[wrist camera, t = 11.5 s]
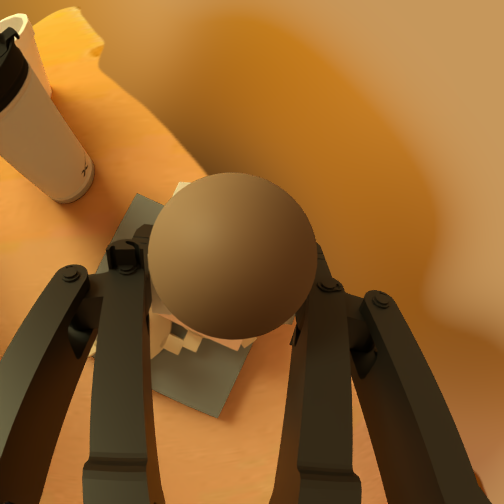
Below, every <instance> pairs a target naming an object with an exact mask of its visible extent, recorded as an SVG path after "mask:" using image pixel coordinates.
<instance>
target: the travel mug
mask: <svg viewBox="0 0 504 504" xmlns="http://www.w3.org/2000/svg"><path fill="white" fill-rule="evenodd" d="M14 36H15V37H16V38H17V39H20V35H19V34H18V33H17V32H16V31H15V30H14V29H13V28H11V27H8V28H7V29H5V30H4V31H3V32H2V33H0V156H1V157H3V158H4V159H5V160H6V161H7V162H8V163H9V164H11V165H12V166H13V167H14V168H15V169H16V170H18V171H19V172H20V173H21V174H22V175H23V176H25V177H26V178H27V179H28V180H29V181H31V182H32V183H33V184H34V185H35V186H37V187H38V188H39V189H40V190H42V191H43V192H44V193H45V194H47V195H48V196H49V197H50V198H52V199H53V200H54V201H56V202H58V203H71V202H73V201H76V200H77V199H79V198H80V197H82V196H83V195H84V194H85V193H86V191H87V190H88V189H89V187H90V186H91V184H92V181H93V178H94V172H95V169H94V164H93V161H92V160H91V158H90V157H89V155H88V154H87V152H86V151H85V150H84V148H83V147H82V145H81V144H80V142H79V141H78V139H77V138H76V136H75V135H74V133H73V132H72V131H71V129H70V128H69V126H68V125H67V123H66V122H65V120H64V118H63V117H62V115H61V114H60V112H59V111H58V109H57V108H56V106H55V105H54V103H53V102H52V100H51V98H50V97H49V95H48V94H47V92H46V90H45V89H44V87H43V86H42V84H41V82H40V81H39V79H38V77H37V76H36V74H35V73H34V71H33V69H32V68H31V66H30V64H29V62H28V61H27V60H26V59H25V57H24V56H23V54H22V52H21V50H20V49H19V48H18V47H17V46H16V45H15V43H14V40H15V37H14Z"/></svg>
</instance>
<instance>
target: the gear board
mask: <svg viewBox="0 0 504 504" xmlns="http://www.w3.org/2000/svg"><path fill="white" fill-rule="evenodd" d="M163 207H164V205H162V204H159V203H157V202H155V201H153V200H151V199H149V198H146V197H144V196H142V195H140V194H138V193H137V194H136V196H135V198H134V200H133V201H132V203H131V205H130V207H129V209H128V210H127V212H126V214H125V216H124V218H123V220H122V221H121V223H120V225H119V227H118V229H117V231H116V233H115V235H114V237H113V239H112V241H111V243H112V242H114V241H117V240H121V239H132V237H133V235H134V233H135V231H136V229H138V228H139V227H141V226H142V225H143V224H150V225H154V223H155V221H156V219H157V217H158V215H159V213H160V212H161V210H162V209H163ZM111 243H110V244H111ZM108 270H109V268H108V262H107V255H106V253H105V255H104V257H103V259H102V261H101V263H100V265H99V267H98V269H97V271H96V273H95V274H100V273H105V272H108ZM149 318H150V358H151V383H152V390H154V391H156V392H159V393H161V394H163V395H165V396H167V397H169V398H171V399H173V400H176V401H178V402H180V403H182V404H184V405H187V406H189V407H191V408H194V409H196V410H198V411H201V412H203V413H206V414H208V415H210V416H213V417H215V418H218V417H219V414H220V412H221V410H222V408H223V406H224V404H225V402H226V400H227V398H228V396H229V394H230V391H231V389H232V387H233V385H234V383H235V381H236V379H237V376H238V374H239V372H240V370H241V368H242V366H243V364H244V361H245V359H246V357H247V355H248V353H249V350H250V348H251V346H252V344H253V342H254V341H255V340H257V337H253V338H248V339H239V340H228V339H219V338H215V337H210V336H207V335H204V334H202V333H199V332H197V331H195V330H193V329H191V328H189V327H188V326H186V325H185V324H183V323H182V322H181V321H179V320H178V319H177V318H176V317H175V316H174V315H173V314H171V315H167V314H158V313H152V306H151V307H150V310H149ZM97 336H98V334H97ZM96 344H97V337H96V339H95V341H94V344H93V346H92V348H91V351H90V353H89V356H88V357H91V356H92V357H93V358H95V353H96Z"/></svg>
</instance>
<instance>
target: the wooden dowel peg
mask: <svg viewBox="0 0 504 504" xmlns="http://www.w3.org/2000/svg"><path fill="white" fill-rule="evenodd" d="M148 264H149V271H150V275H151V279H152V282H153V285H154V287H155V290H156V292H157V294H158V295H159V297H160V299H161V301H162V302H163V304H164V305H165V306H166V307H167V309H168V310H169V311H170V312H171V313H172V314H173V315H174V316H175V317H176V318H177V319H178V320H179V321H181V322H182V323H183V324H185V325H186V326H188V327H189V328H191V329H193V330H195V331H197V332H199V333H202V334H204V335H207V336H210V337H215V338H219V339H228V340H239V339H248V338H253V337H257V336H260V335H263V334H266V333H268V332H270V331H272V330H274V329H276V328H278V327H279V326H281V325H282V324H284V323H285V322H286V321H287V320H289V319H290V318H291V317H292V316H293V315H294V314H295V313H296V312H297V311H298V309H299V308H300V307H301V306H302V304H303V303H304V301H305V300H306V298H307V296H308V294H309V292H310V290H311V288H312V285H313V282H314V279H315V274H316V269H317V245H316V240H315V235H314V232H313V229H312V227H311V224H310V222H309V220H308V218H307V216H306V214H305V213H304V211H303V210H302V208H301V207H300V206H299V204H298V203H297V202H296V201H295V200H294V199H293V198H292V197H291V196H290V195H289V194H288V193H287V192H285V191H284V190H283V189H281V188H280V187H279V186H277V185H275V184H273V183H272V182H270V181H268V180H265V179H263V178H260V177H257V176H253V175H249V174H243V173H220V174H214V175H210V176H206V177H203V178H201V179H198V180H196V181H194V182H192V183H190V184H188V185H187V186H185V187H184V188H182V189H181V190H180V191H178V192H177V193H176V194H175V195H174V196H173V197H172V198H171V199H170V200H169V201H168V202H167V203H166V205H165V206H164V207H163V209H162V210H161V212H160V213H159V215H158V217H157V219H156V221H155V223H154V226H153V228H152V232H151V235H150V240H149V246H148Z"/></svg>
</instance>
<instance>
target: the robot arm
mask: <svg viewBox="0 0 504 504" xmlns="http://www.w3.org/2000/svg"><path fill="white" fill-rule="evenodd" d="M188 184H190V183H188V182H179V183H178V185H177V188H176V190H175V192H174V194H173V196H174V195H175V194H176V193H177V192H178V191H180V190H181V189H182V188H184V187H185V186H187V185H188ZM173 196H172V197H173ZM153 226H154V225H150V224H143V225H142V226H141V227H139V228H138V229H136V231H135V233H134V235H133V237H132V239H121V240H117V241H114V242H112V243H111V244H110V245H108V247H107V248H106V255H107V262H108V268H109V270H108V272H105V273H100V274H91V275H88V272H87V269H86V268H85V267H83V266H81V265H68V266H65V267H63V268H61V269H59V270H58V271H57V272H56V273H55V275H54V276H53V278H52V279H51V280H50V282H49V283H48V285H47V286H46V288H45V289H44V291H43V292H42V294H41V295H40V296H39V298H38V299H37V301H36V303H35V304H34V306H33V307H32V309H31V310H30V312H29V313H28V315H27V316H26V318H25V320H24V321H23V323H22V325H21V326H20V328H19V329H18V331H17V333H16V334H15V336H14V338H13V340H12V341H11V343H10V345H9V346H8V348H7V350H6V352H5V354H4V355H3V357H2V359H1V361H0V504H39V502H40V499H41V496H42V492H43V488H44V485H45V481H46V477H47V473H48V470H49V466H50V463H51V459H52V456H53V453H54V449H55V446H56V443H57V440H58V437H59V434H60V431H61V427H62V425H63V422H64V419H65V416H66V413H67V410H68V407H69V404H70V402H71V399H72V396H73V394H74V391H75V388H76V386H77V383H78V380H79V378H80V375H81V373H82V370H83V368H84V365H85V363H86V360H87V358H88V356H89V353H90V351H91V348H92V346H93V344H94V341H95V339H96V337H97V344H96V353H95V362H94V372H93V384H92V397H91V416H90V455H89V460H88V461H87V462H86V463H85V464H84V467H83V476H82V483H83V504H165V499H164V495H163V491H162V486H161V480H160V473H159V465H158V456H157V447H156V437H155V427H154V414H153V400H152V383H151V358H150V318H149V310H150V307H151V306H152V313H158V314H167V315H171V314H172V313H171V312H170V311H169V310H168V309H167V307H166V306H165V305H164V304H163V302H162V301H161V299H160V297H159V295H158V294H157V292H156V290H155V287H154V285H153V282H152V279H151V275H150V271H149V264H148V246H149V240H150V235H151V232H152V228H153ZM316 245H317V269H316V274H315V279H314V282H313V285H312V288H311V290H310V292H309V294H308V296H307V298H306V300H305V301H304V303H303V304H302V306H301V307H300V308H299V309H298V311H297V312H296V313H295V314H294V315H293V316H292V317H291V318H290V319H289V320H287V321H286V322H285V323H284V324H292V323H293V320H294V316H295V317H296V322H297V324H296V327H295V330H294V333H293V336H292V339H291V342H290V345H292V354H291V364H290V373H289V381H288V390H287V398H286V406H285V414H284V422H283V429H282V437H281V444H280V451H279V458H278V464H277V471H276V477H275V484H274V489H273V493H272V496H271V499H270V501H269V504H361V493H362V489H361V481H360V478H359V476H357V475H356V474H355V473H354V472H353V468H352V445H353V435H352V389H351V377H352V380H353V383H354V386H355V389H356V392H357V395H358V399H359V402H360V405H361V408H362V412H363V415H364V418H365V422H366V425H367V428H368V432H369V435H370V439H371V442H372V446H373V449H374V453H375V456H376V460H377V464H378V467H379V471H380V475H381V478H382V482H383V486H384V490H385V494H386V498H387V502H388V504H492V503H491V502H490V501H489V499H488V498H487V496H486V495H485V494H484V492H483V491H482V490H481V488H480V487H479V486H478V484H477V481H476V478H475V475H474V472H473V469H472V466H471V464H470V461H469V458H468V455H467V453H466V450H465V448H464V445H463V443H462V440H461V438H460V435H459V432H458V430H457V428H456V425H455V423H454V420H453V418H452V416H451V413H450V411H449V409H448V406H447V404H446V402H445V400H444V398H443V395H442V393H441V391H440V389H439V387H438V385H437V382H436V380H435V378H434V376H433V374H432V372H431V370H430V368H429V366H428V364H427V362H426V360H425V357H424V355H423V354H422V352H421V349H420V348H419V346H418V344H417V342H416V340H415V338H414V336H413V334H412V332H411V330H410V328H409V326H408V325H407V323H406V321H405V319H404V317H403V315H402V314H401V312H400V310H399V308H398V306H397V304H396V303H395V301H394V300H393V299H392V297H390V296H389V295H387V294H386V293H384V292H381V291H377V290H372V291H368V292H367V293H366V294H365V296H364V298H360V297H357V296H354V295H350V294H348V293H346V292H345V291H344V288H343V286H342V284H341V283H340V282H339V281H337V280H336V279H334V278H332V276H331V273H330V271H329V268H328V265H327V262H326V261H325V257H324V255H323V252H322V249H321V247H320V245H319V244H318V243H317V242H316ZM97 334H98V336H97Z"/></svg>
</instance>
